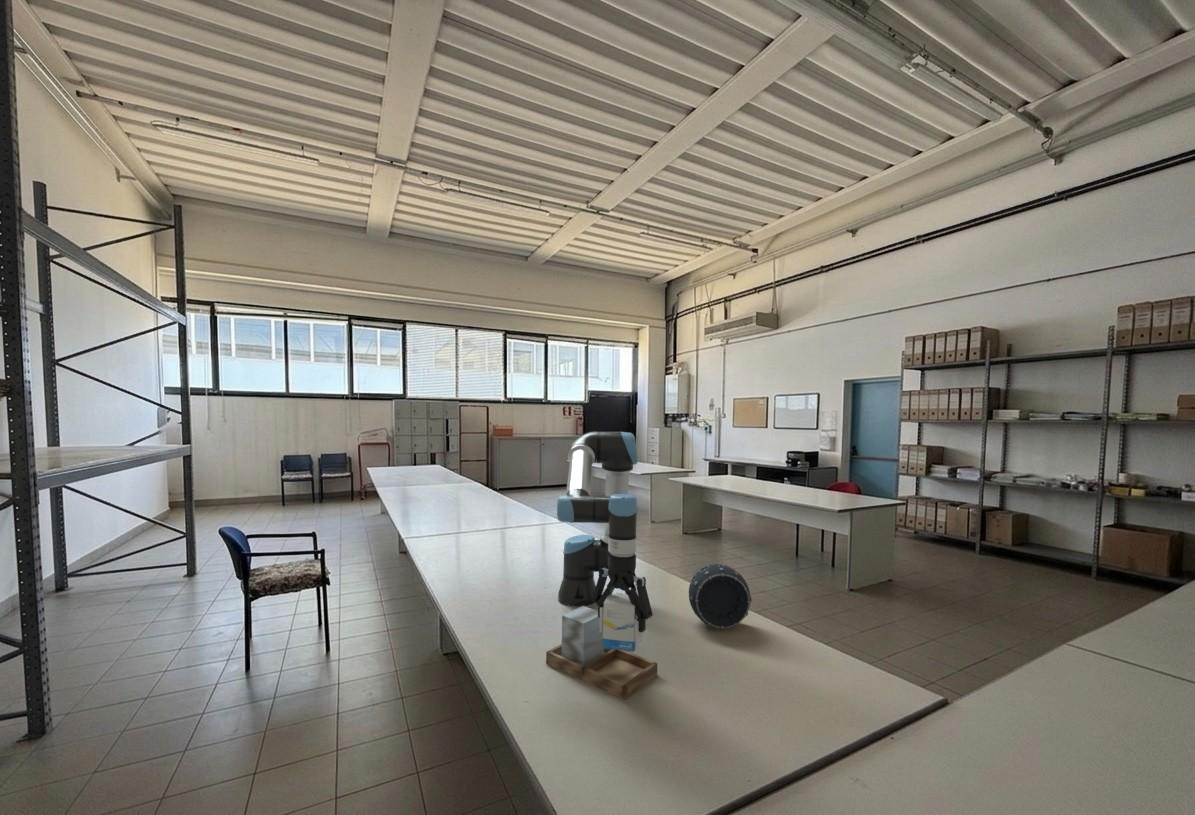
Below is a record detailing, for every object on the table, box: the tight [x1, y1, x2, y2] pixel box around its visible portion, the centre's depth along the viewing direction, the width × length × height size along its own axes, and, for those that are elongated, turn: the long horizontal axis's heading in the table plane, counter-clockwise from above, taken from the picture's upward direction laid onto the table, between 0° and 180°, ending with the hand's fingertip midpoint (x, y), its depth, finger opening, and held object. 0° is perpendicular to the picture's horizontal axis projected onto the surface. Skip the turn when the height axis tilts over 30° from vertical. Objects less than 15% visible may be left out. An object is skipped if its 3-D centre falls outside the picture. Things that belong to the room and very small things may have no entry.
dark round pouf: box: [688, 563, 753, 630], centre depth 157 cm, size 11×20×20 cm, turn 89°
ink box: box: [603, 592, 637, 652], centre depth 125 cm, size 9×8×12 cm
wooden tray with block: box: [545, 606, 658, 701], centre depth 129 cm, size 27×15×13 cm, turn 52°
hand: (620, 636), depth 124 cm, fingers closed on ink box, 11 cm apart
